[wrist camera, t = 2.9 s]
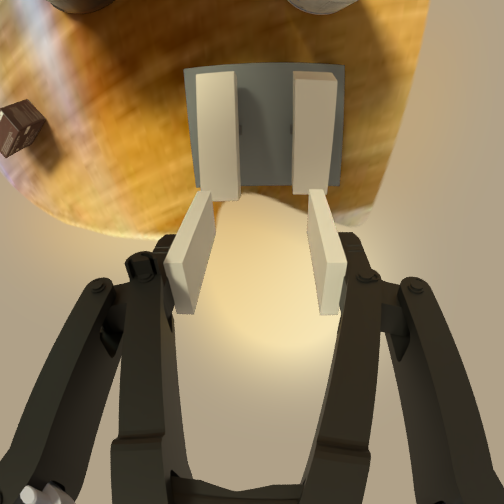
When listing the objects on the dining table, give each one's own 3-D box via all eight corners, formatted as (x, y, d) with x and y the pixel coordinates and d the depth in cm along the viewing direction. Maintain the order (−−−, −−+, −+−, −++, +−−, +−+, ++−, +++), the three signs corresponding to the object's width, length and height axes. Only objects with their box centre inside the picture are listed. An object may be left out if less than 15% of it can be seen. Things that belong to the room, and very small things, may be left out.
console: (202, 178, 45) (192, 197, 39) (191, 67, 35) (177, 69, 30) (334, 176, 43) (343, 195, 38) (337, 64, 34) (349, 65, 29)
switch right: (291, 179, 38) (292, 194, 36) (292, 71, 28) (295, 79, 26) (323, 179, 38) (326, 194, 36) (331, 72, 27) (337, 81, 25)
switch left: (206, 196, 36) (201, 201, 34) (201, 79, 31) (195, 74, 29) (240, 195, 36) (238, 200, 33) (237, 76, 31) (233, 71, 28)
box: (32, 144, 41) (5, 160, 35) (13, 123, 39) (-14, 137, 33) (47, 118, 39) (19, 131, 33) (27, 97, 36) (-1, 108, 30)
